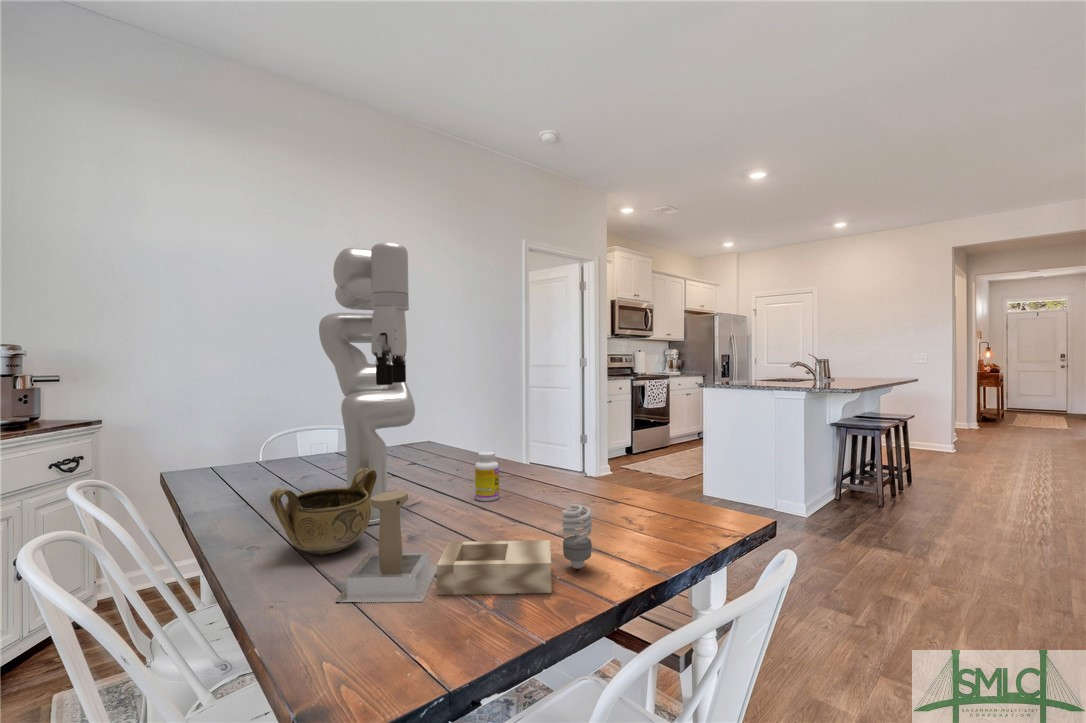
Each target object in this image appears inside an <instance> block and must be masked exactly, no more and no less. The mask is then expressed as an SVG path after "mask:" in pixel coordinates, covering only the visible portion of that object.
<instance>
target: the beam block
mask: <svg viewBox="0 0 1086 723" xmlns="http://www.w3.org/2000/svg"><path fill="white" fill-rule="evenodd" d="M436 566H437V573H436V584H437V585H436V586H437V587H436V589H437V590H436V591H437V592H436V595H437V596H446V595H447V596H451V595H453V596H456V595H459V596H460V595H502V594H503V595H513V594H515V595H516V593H518V594H519V595H520V594H522V595H523V594H524V595H525V594H526V593H527V594H551V593H552V555H551V540H549V539H547V540H544V539H543V540H540V539H539V540H496V541H495V540H490V541H489V540H488V541H486V540H485V541H484V540H483V541H482V540H479V541H473V540H472V541H448V543H447V544H446V546H445V548H444V551H443V553H442V554H441V556H440V559H439V560H438V562H437V564H436ZM518 594H517V595H518ZM527 594H526V595H527Z"/></svg>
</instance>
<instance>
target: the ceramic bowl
mask: <svg viewBox="0 0 1086 723" xmlns="http://www.w3.org/2000/svg"><path fill="white" fill-rule="evenodd" d="M376 478H377V474H376V471H375V470H374V469H369V468H361V469H359V470H358V471H357V473H356V474H355V476H354V478H353V481H352V485H351V486H350V487H349V488H347V487H334V488H331V487H330V488H321V489H315V490H311V491H310V490H309V491H306V492H302V493H298V494H296V493H295V492H294V491H292V490H290V489H286V488H276V489H274V490H273V491H272V492H271V495H270V496H269V501H270V504H271V507H272V508H273V510H274V512H275V514H276V516H277V518H278V520H279V522H280V524H281V526H282V527H283V530H284V532H285V534H286V536H287V537H288V538H289V541H290V542H291V543H292V544H293V545H294V546H295V547H297V549H300V550H302V551H303V552H306V553H309V554H314V555H320V556H321V555H330V554H334V553H338V552H341V551H344V549H347V548H348V547H350V546H352V545H354V544H355V543H356V542H357V541H358V540H359V539H360V538H362V536H363V535H364V533H365V532H366V531H367V529H368V526H369V525H368V524H369V520H370V514H371V506H370V499H369V498H370V496H371V493H372V490H373V487H374V484H375V482H376ZM284 495H285V497H287V500H286V502H285V503H286V504H285V506H284V504H283V502H282V497H283V496H284Z"/></svg>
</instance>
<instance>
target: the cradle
mask: <svg viewBox="0 0 1086 723" xmlns="http://www.w3.org/2000/svg"><path fill="white" fill-rule="evenodd" d="M400 571H401V574H382V573H381V571H380V565H379V552H372V553H370V552H369V553H367V554H366V556H365V557H363V558H362V560H361V561H360V562H359V564H357V566H355V568H353V570H352V571H351V572H350V573H349V575H348V576H346V587H345V588H344V590H343V591H342V592H341V593H340V594H339V596H338V597H337V598H336V599H335V603H336V602H358V604H362V603H363V604H364V603H367V602H368V603H369V602H370V603H371V602H372V604H373V602H374V604H375V602H376V603H419V602H420V603H421V602H422V603H423V601H424V599H425V596H426V594H427V593H428V591H429V589H430V587H431V585H432V583H433V580H434V579H435V576H437V565H431V552H424V551H423V552H402V565H401V570H400ZM359 602H360V603H359ZM361 602H362V603H361ZM368 603H367V604H368Z"/></svg>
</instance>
